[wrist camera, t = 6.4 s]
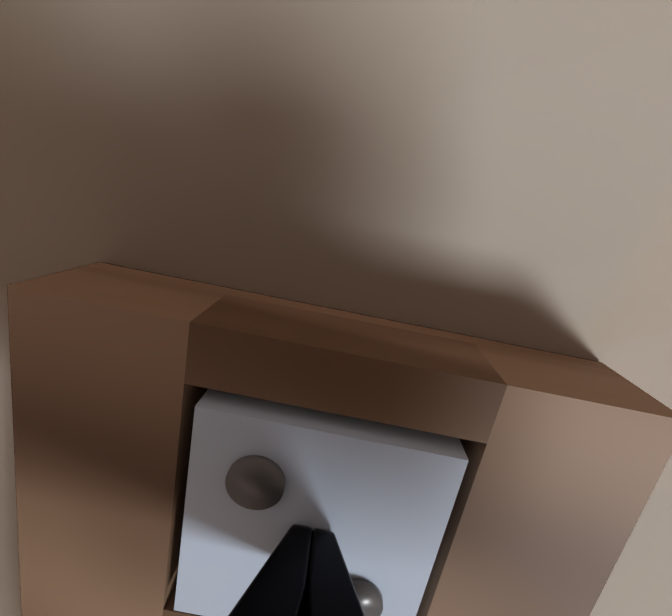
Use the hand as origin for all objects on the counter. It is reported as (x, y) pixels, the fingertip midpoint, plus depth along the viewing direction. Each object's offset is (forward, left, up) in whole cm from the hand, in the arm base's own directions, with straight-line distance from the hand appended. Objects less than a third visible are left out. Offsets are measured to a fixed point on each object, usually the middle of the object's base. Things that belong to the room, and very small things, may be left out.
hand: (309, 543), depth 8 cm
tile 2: (0, 0, -2) cm, 2 cm away
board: (-7, 0, -3) cm, 8 cm away
